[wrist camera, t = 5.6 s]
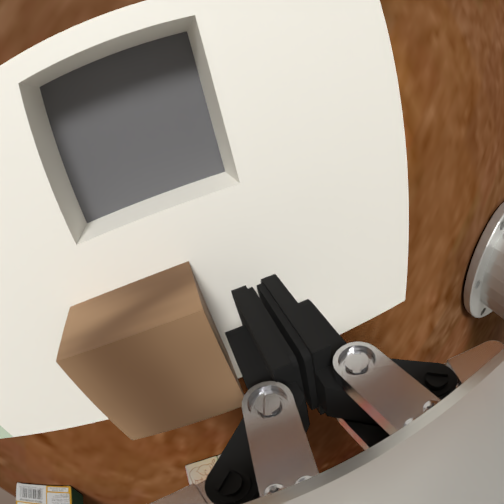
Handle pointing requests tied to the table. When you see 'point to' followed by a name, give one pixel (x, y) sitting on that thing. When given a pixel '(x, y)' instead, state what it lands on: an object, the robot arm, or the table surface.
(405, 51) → the table surface
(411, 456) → the robot arm
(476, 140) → the table surface
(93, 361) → the walnut block
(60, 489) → the crayon box
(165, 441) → the table surface
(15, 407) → the trap board
